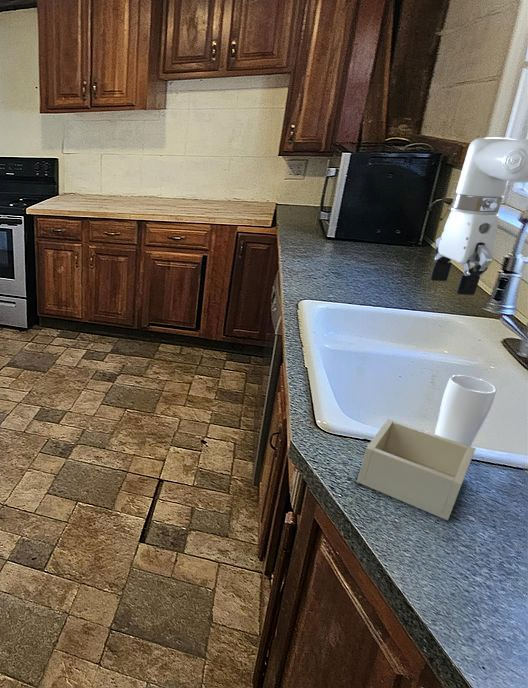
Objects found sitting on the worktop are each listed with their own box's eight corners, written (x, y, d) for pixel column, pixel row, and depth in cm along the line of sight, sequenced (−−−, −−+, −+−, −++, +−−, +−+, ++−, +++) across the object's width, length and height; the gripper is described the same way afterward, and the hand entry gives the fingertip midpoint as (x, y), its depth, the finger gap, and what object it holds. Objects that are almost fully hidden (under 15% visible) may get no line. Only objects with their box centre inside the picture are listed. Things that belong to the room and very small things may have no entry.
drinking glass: (432, 440, 102) (455, 371, 96) (474, 456, 97) (502, 385, 91) (419, 453, 98) (443, 381, 92) (463, 471, 93) (491, 397, 87)
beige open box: (462, 482, 90) (475, 448, 88) (447, 520, 82) (461, 484, 79) (378, 450, 99) (387, 418, 96) (356, 482, 90) (366, 447, 87)
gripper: (527, 211, 96) (497, 301, 102) (469, 198, 112) (446, 276, 118) (482, 210, 97) (455, 299, 103) (431, 197, 112) (410, 275, 119)
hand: (450, 287), depth 110 cm, fingers open, 9 cm apart
